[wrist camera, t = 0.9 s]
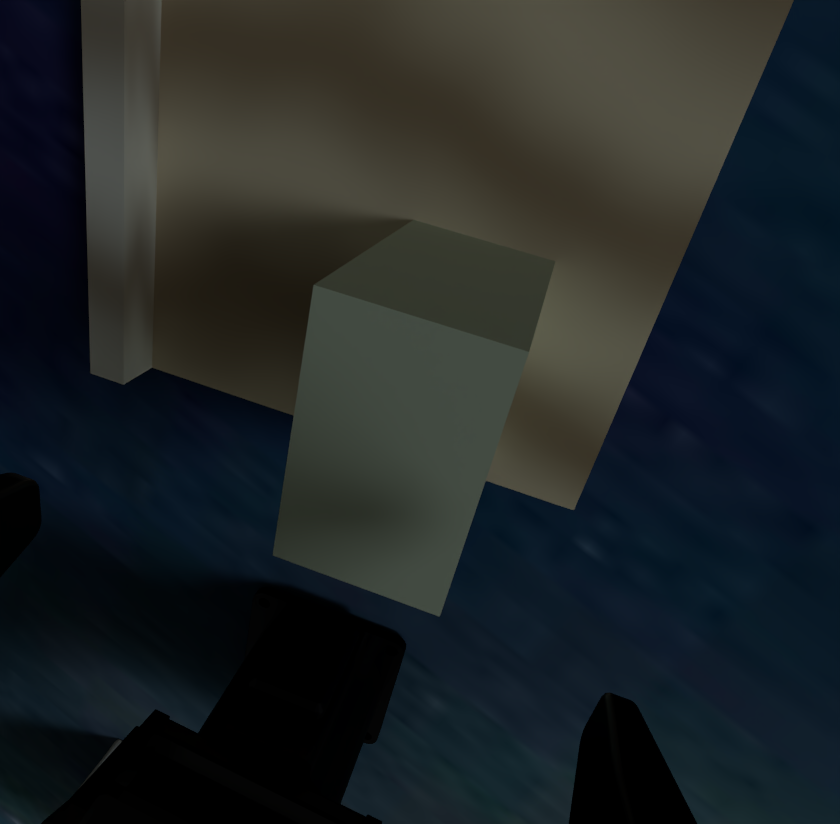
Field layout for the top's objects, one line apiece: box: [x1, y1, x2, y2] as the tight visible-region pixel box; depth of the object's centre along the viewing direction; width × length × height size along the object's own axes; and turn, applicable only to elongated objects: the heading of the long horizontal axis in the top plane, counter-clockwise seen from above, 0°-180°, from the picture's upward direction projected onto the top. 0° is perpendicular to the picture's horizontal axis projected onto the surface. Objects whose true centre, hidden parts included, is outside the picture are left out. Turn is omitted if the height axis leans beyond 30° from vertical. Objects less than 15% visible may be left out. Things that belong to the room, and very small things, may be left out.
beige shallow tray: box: [81, 0, 794, 510], centre depth 16 cm, size 19×16×2 cm
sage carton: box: [273, 220, 555, 617], centre depth 16 cm, size 4×7×7 cm, turn 167°
